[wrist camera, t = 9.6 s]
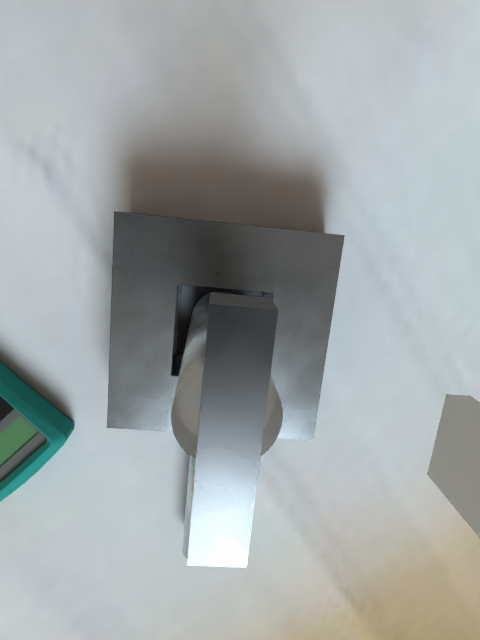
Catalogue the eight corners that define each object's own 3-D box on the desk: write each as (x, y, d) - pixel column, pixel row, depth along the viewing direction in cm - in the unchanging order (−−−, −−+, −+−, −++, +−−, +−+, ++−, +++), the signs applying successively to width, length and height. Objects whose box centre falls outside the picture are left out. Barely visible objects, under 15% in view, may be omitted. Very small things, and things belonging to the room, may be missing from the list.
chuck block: (129, 212, 25) (114, 211, 21) (325, 233, 26) (344, 235, 22) (116, 528, 30) (102, 574, 26) (281, 535, 31) (291, 580, 27)
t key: (196, 253, 26) (174, 300, 11) (254, 259, 26) (312, 312, 11) (187, 375, 28) (156, 564, 13) (241, 379, 28) (276, 568, 13)
